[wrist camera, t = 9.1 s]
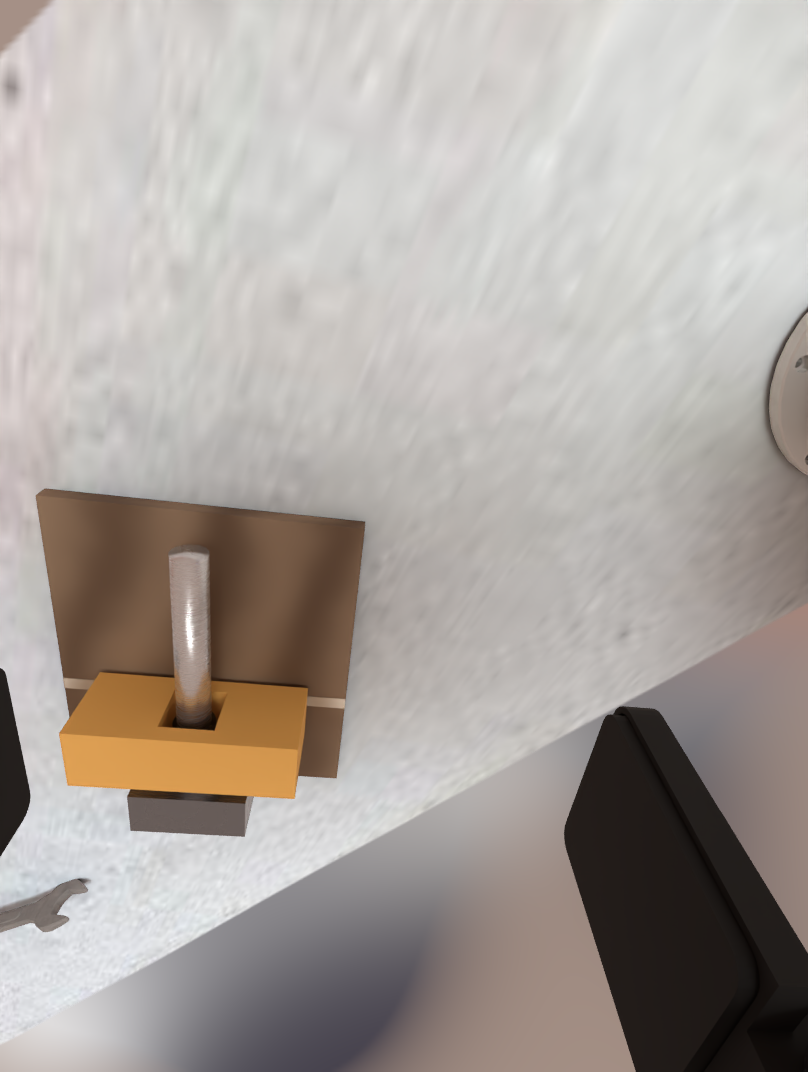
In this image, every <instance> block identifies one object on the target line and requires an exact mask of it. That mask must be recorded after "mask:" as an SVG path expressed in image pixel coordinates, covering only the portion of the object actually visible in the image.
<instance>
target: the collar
mask: <svg viewBox="0 0 808 1072" xmlns="http://www.w3.org/2000/svg"><path fill="white" fill-rule="evenodd" d="M307 694H308V688H299V687H286V686H273V685H260V684H247V683H234V682H221V681H211V699H212V712H213V713H214V714H215V716H216V728H215V731H212V730H198V729H183V728H172V723H173V720H174V718H175V717H176V699H175V678H169V677H156V676H143V675H130V674H117V673H104V672H100V673H99V675H98V676H97V678H96V679H95V681H94V682H93V684H92V685H91V687H90V688H89V690H88V691H87V693H86V694H85V696H84V697H83V699H82V700H81V702H80V703H79V705H78V706H77V708H76V709H75V711H74V712H73V714H72V715H71V717H70V718H69V720H68V721H67V723H66V724H65V726H64V727H63V729H62V730H61V732H60V733H59V736H60V742H61V748H62V754H63V760H64V766H65V772H66V778H67V784H68V785H69V786H86V787H103V788H120V789H137V790H153V791H170V792H187V793H204V794H221V795H238V796H255V797H272V798H288V799H294V798H295V792H296V785H297V779H298V773H299V766H300V760H301V753H302V747H303V740H304V734H305V721H306V708H307Z"/></svg>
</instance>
